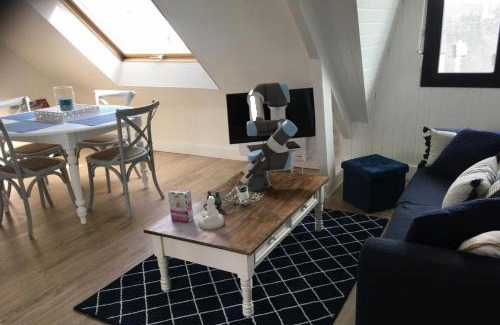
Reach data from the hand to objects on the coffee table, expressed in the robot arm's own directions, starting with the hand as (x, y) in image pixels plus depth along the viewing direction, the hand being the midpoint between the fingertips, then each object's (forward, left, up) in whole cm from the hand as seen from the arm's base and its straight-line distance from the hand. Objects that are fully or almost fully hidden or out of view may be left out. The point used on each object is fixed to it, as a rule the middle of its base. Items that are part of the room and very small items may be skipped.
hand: (243, 177), depth 203 cm
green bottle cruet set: (-12, -19, -24) cm, 33 cm away
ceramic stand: (+4, -18, -23) cm, 30 cm away
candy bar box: (-1, -34, -24) cm, 41 cm away
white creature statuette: (+3, -18, -21) cm, 27 cm away
